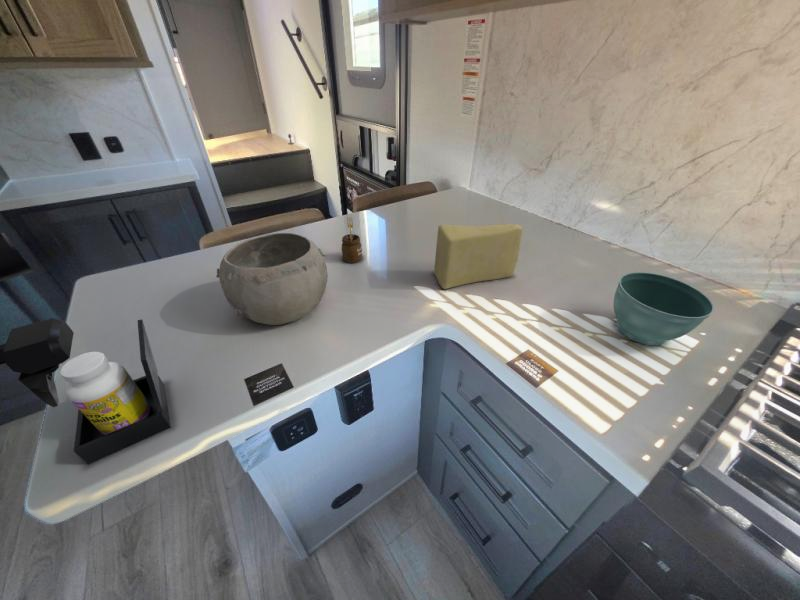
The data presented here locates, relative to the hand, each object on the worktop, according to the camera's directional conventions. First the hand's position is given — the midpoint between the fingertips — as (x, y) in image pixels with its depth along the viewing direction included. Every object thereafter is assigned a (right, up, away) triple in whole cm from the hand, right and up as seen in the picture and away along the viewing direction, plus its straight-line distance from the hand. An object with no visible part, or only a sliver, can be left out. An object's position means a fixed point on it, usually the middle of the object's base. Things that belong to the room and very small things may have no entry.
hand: (2, 423), depth 36 cm
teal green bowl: (+100, +7, +35) cm, 106 cm away
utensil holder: (+31, +27, +60) cm, 73 cm away
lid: (+7, +4, +12) cm, 15 cm away
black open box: (+2, -5, +15) cm, 16 cm away
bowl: (+17, +13, +41) cm, 46 cm away
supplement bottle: (+2, -5, +15) cm, 15 cm away
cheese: (+67, +20, +53) cm, 87 cm away
